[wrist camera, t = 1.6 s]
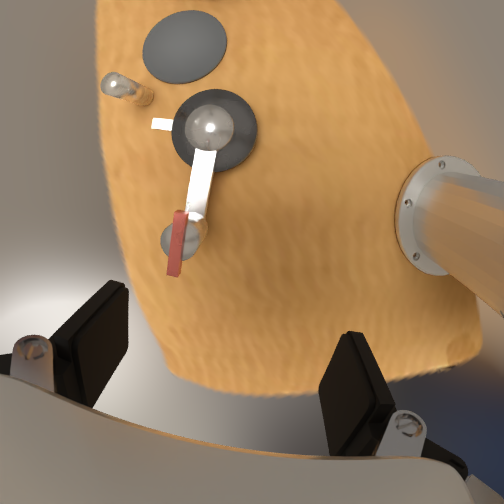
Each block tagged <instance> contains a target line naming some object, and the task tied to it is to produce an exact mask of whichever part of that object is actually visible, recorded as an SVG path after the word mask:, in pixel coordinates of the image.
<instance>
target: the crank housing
mask: <svg viewBox="0 0 504 504" xmlns="http://www.w3.org/2000/svg"><path fill="white" fill-rule="evenodd" d="M101 90H102V92H103V93H104V94H107V95H110V96H113V97H116V98H119V99H123V100H126V101H129V102H132V103H135V104H138V105H140V106H147V105H149V104H150V103H151V102H152V100H153V97H154V94H153V91H152V90H151V89H149V88H147V87H145V86H143V85H141V84H139V83H137V82H135V81H133V80H131V79H129V78H127V77H125V76H123V75H121V74H119V73H117V72H111V73H108V74H107V75H106V76H105V77H104V78H103V79H102V81H101ZM204 105H216V106H219V107H221V108H223V109H224V110H226V111H227V112H228V114H229V115H230V116H231V117H232V119H233V121H234V124H235V134H234V137H233V139H232V141H231V142H230V144H229V145H228V146H226V147H225V148H223V149H221V150H219V151H218V154H217V159H216V164H215V169H214V172H220V171H224V170H228V169H230V168H233V167H235V166H237V165H238V164H240V163H241V162H243V161H244V160H245V159H246V158H247V157H248V156H249V154H250V153H251V151H252V150H253V148H254V146H255V143H256V139H257V123H256V119H255V116H254V113H253V111H252V109H251V108H250V106H249V105H248V104H247V102H246V101H245V100H243V99H242V98H241V97H240V96H238V95H236V94H234V93H232V92H230V91H226V90H221V89H210V90H205V91H202V92H199V93H197V94H195V95H193V96H191V97H190V98H189V99H187V100H186V101H185V102H184V103H183V104H182V105H181V107H180V108H179V109H178V111H177V113H176V115H175V117H174V120H169V119H160V118H153V122H152V127H151V128H153V129H162V130H170V131H172V141H173V145H174V147H175V150H176V151H177V153H178V155H179V156H180V157H181V159H182V160H183V161H184V162H186V163H187V164H188V165H190V166H191V167H193V162H194V156H195V151H196V148H195V147H194V146H192V145H191V144H190V142H189V141H188V139H187V137H186V134H185V124H186V121H187V119H188V117H189V115H190V114H191V113H192V112H193V111H194V110H195V109H197V108H198V107H201V106H204Z"/></svg>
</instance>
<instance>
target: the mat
mask: <svg viewBox="0 0 504 504" xmlns="http://www.w3.org/2000/svg"><path fill="white" fill-rule="evenodd" d="M226 46H227V38H226V33H225V30H224V28H223V26H222V25H221V23H220V22H219V21H218V20H217V19H216V18H215V17H213V16H212V15H210V14H208V13H205V12H201V11H195V10H188V11H181V12H177V13H174V14H172V15H170V16H167V17H166V18H164V19H163V20H161V21H160V22H159V23H157V24H156V25H155V26H154V27H153V29H152V30H151V31H150V32H149V34H148V36H147V38H146V40H145V42H144V46H143V60H144V64H145V66H146V68H147V69H148V71H149V72H150V73H151V74H152V75H153V76H155V77H156V78H158V79H159V80H161V81H164V82H167V83H172V84H184V83H189V82H193V81H196V80H198V79H201V78H202V77H204V76H206V75H207V74H209V73H210V72H211V71H212V70H213V69H215V68H216V66H217V65H218V64H219V63H220V61H221V60H222V58H223V56H224V54H225V51H226Z"/></svg>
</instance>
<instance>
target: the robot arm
mask: <svg viewBox="0 0 504 504" xmlns="http://www.w3.org/2000/svg"><path fill="white" fill-rule="evenodd" d="M405 201H406V204H405ZM395 228H396V234H397V239H398V242H399V245H400V248H401V250H402V251H403V253H404V255H405V257H406V258H407V259H408V260H409V261H410V262H411V263H412V264H413V265H414V266H415V267H416V268H418V269H419V270H421V271H422V272H424V273H426V274H430V275H434V276H444V275H448V274H450V275H452V276H453V277H454V278H456V279H457V280H458V281H459V282H461V283H462V284H463V285H465V286H466V287H467V288H468V289H470V290H471V291H472V292H473V293H474V294H476V295H477V296H478V297H479V298H481V299H482V300H483V301H484V302H485V303H487V304H488V305H489V306H490V307H491V308H492V309H494V310H495V311H496V312H497V313H498V314H499V315H501V316H502V317H503V318H504V182H502V181H498V180H493V179H489V178H484V177H481V176H480V174H479V172H478V171H477V170H476V169H475V168H474V167H473V166H472V165H471V164H469V163H468V162H467V161H465V160H463V159H461V158H457V157H454V156H437V157H433V158H430V159H428V160H426V161H424V162H423V163H421V164H420V165H419V166H418V167H417V168H416V169H414V170H413V171H412V173H411V174H410V176H409V177H408V178H407V180H406V181H405V183H404V185H403V187H402V189H401V192H400V195H399V198H398V201H397V207H396V213H395ZM128 301H129V291H128V288H125V284H124V283H120V282H117V281H113V280H109V281H108V282H107V283H106V284H105V285H104V286H103V287H102V288H101V289H99V290H98V291H97V292H96V293H95V294H94V295H93V296H92V297H91V298H90V299H89V300H88V301H87V302H86V303H85V304H84V305H83V306H82V307H80V309H78V310H77V311H76V312H75V313H74V314H73V315H72V316H71V317H70V318H69V319H68V320H67V321H66V322H65V323H64V324H63V325H62V326H61V327H60V328H59V329H58V330H57V331H56V332H55V333H54V334H53V335H52V336H51V337H50V338H49V339H47V338H45V337H43V336H40V335H27V336H25V337H22V338H20V339H19V340H18V341H17V342H16V343H15V344H14V347H13V353H11V354H4V355H0V504H504V500H503V498H502V497H501V496H500V495H499V494H497V493H496V492H494V491H493V490H492V489H490V488H489V487H488V486H487V485H485V484H484V483H483V482H481V481H480V480H479V479H477V478H476V477H475V476H474V475H471V476H468V468H467V466H466V464H465V462H464V461H463V460H462V459H461V458H459V457H458V456H456V455H454V454H452V453H451V452H449V451H447V450H446V449H444V448H442V447H440V446H439V445H437V444H435V443H433V442H432V441H430V440H429V439H427V438H425V436H426V425H425V423H424V421H423V420H422V419H421V418H420V417H419V416H418V415H416V414H415V413H413V412H410V411H405V410H401V411H397V410H396V408H395V402H394V400H393V398H392V395H391V393H390V391H389V388H388V386H387V384H386V382H385V379H384V377H383V375H382V373H381V371H380V368H379V366H378V364H377V362H376V360H375V358H374V355H373V353H372V351H371V349H370V347H369V345H368V343H367V341H366V339H365V337H364V335H363V333H361V332H354V331H348V332H347V333H346V334H342V335H341V337H340V340H339V342H338V344H337V347H336V349H335V351H334V354H333V356H332V358H331V360H330V363H329V365H328V367H327V369H326V371H325V374H324V376H323V378H322V380H321V382H320V384H319V390H318V391H319V397H320V403H321V408H322V413H323V419H324V425H325V430H326V436H327V441H328V447H329V454H330V456H309V455H294V454H282V453H272V452H263V451H255V450H248V449H241V448H235V447H229V446H223V445H218V444H212V443H207V442H203V441H198V440H193V439H189V438H185V437H181V436H177V435H172V434H169V433H165V432H161V431H158V430H154V429H151V428H147V427H144V426H141V425H138V424H134V423H131V422H128V421H125V420H122V419H119V418H117V417H113V416H111V415H108V414H106V413H103V412H100V411H97V410H95V409H92V408H93V406H94V405H95V403H96V401H97V400H98V398H99V396H100V394H101V393H102V391H103V390H104V388H105V386H106V384H107V383H108V381H109V380H110V378H111V376H112V375H113V373H114V371H115V370H116V368H117V366H118V365H119V363H120V362H121V360H122V358H123V356H124V355H125V354H126V352H127V349H128Z"/></svg>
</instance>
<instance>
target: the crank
mask: <svg viewBox="0 0 504 504" xmlns="http://www.w3.org/2000/svg"><path fill="white" fill-rule="evenodd" d="M185 134H186V137H187V139H188V141H189V142H190V144H191V145H192V146H194V147H195V148H196V151H195V156H194V162H193V167H192V173H191V178H190V184H189V190H188V196H187V202H186V208H185V211H182V210H177V211H175V212H174V219H173V223H172V224H171V225H169V226H168V227H167V228H166V229H165V230H164V231H163V233H162V235H161V247H162V249H163V251H164V253H165V254H166V255H167V256H168V257H169V258H168V267H167V275H170V276H174V277H178V276H179V275H180V273H181V266H182V261H184V260H187V259H189V258H191V257H192V256H193V255H194V253H195V252H196V250H197V249H198V247H199V246H200V244H201V243H202V241H203V240H204V238H205V237H206V235H207V232H208V224H207V221H206V220H205V217H206V212H207V206H208V200H209V195H210V190H211V184H212V179H213V174H214V169H215V164H216V159H217V154H218V151H219V150H221V149H223V148H225V147H226V146H228V145H229V144H230V142H231V141H232V139H233V137H234V134H235V124H234V121H233V119H232V117H231V116H230V115H229V114H228V112H227V111H226V110H224V109H223V108H221V107H219V106H216V105H204V106H201V107H198V108H197V109H195V110H194V111H193V112H192V113H191V114H190V115H189V117H188V119H187V121H186V124H185Z"/></svg>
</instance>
